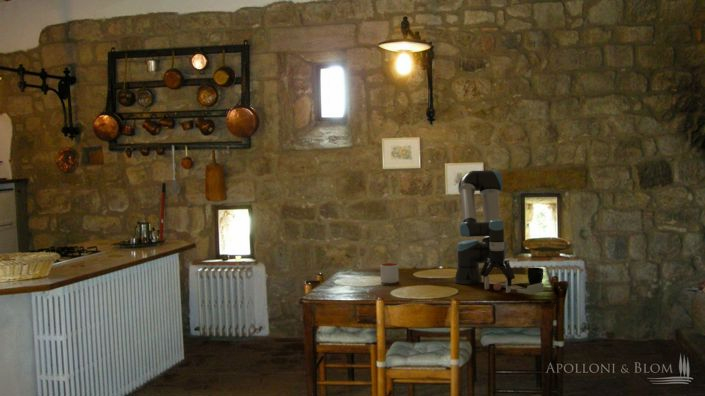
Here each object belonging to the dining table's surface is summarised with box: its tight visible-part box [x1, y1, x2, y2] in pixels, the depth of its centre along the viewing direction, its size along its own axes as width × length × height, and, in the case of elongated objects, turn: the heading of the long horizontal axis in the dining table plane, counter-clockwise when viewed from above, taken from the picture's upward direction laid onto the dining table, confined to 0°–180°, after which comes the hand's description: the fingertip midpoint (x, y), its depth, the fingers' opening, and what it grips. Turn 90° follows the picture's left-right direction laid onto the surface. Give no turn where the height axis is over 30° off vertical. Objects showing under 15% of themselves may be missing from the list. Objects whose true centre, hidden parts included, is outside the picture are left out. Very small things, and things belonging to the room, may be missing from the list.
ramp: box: [498, 280, 527, 292], centre depth 354 cm, size 15×7×3 cm, turn 40°
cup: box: [379, 262, 399, 284], centre depth 381 cm, size 10×10×10 cm
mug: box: [526, 266, 544, 286], centre depth 356 cm, size 8×12×10 cm
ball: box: [493, 282, 502, 292], centre depth 350 cm, size 4×4×4 cm
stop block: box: [516, 282, 544, 295], centre depth 345 cm, size 8×11×4 cm
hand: (497, 290), depth 349 cm, fingers open, 13 cm apart
